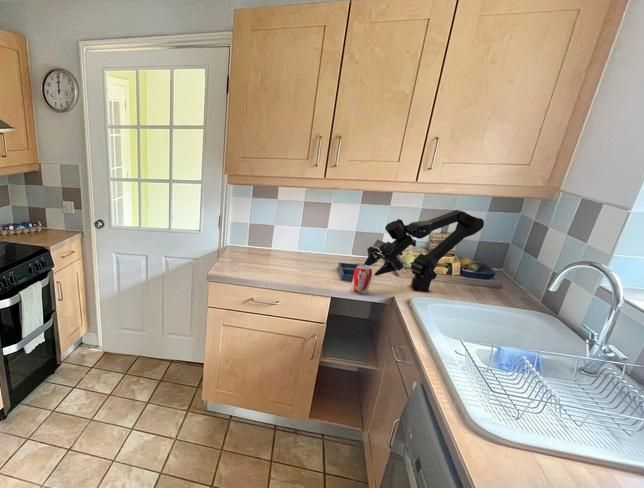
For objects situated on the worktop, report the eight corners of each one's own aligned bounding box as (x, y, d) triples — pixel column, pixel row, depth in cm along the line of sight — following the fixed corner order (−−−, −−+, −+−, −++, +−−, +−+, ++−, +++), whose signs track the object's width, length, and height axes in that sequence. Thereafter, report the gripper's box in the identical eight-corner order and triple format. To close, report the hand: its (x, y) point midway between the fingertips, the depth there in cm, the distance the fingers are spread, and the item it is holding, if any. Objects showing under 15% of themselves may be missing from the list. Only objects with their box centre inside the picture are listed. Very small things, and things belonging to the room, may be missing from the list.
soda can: (349, 293, 183) (354, 267, 178) (351, 288, 189) (356, 263, 184) (367, 296, 180) (372, 270, 175) (367, 290, 186) (373, 265, 181)
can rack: (358, 269, 212) (360, 264, 211) (364, 282, 195) (365, 276, 194) (337, 267, 214) (338, 262, 213) (341, 280, 198) (342, 274, 196)
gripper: (375, 228, 183) (347, 253, 186) (403, 239, 166) (372, 266, 169) (387, 245, 187) (360, 269, 190) (416, 257, 170) (385, 283, 173)
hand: (368, 271), depth 181 cm, fingers open, 9 cm apart
